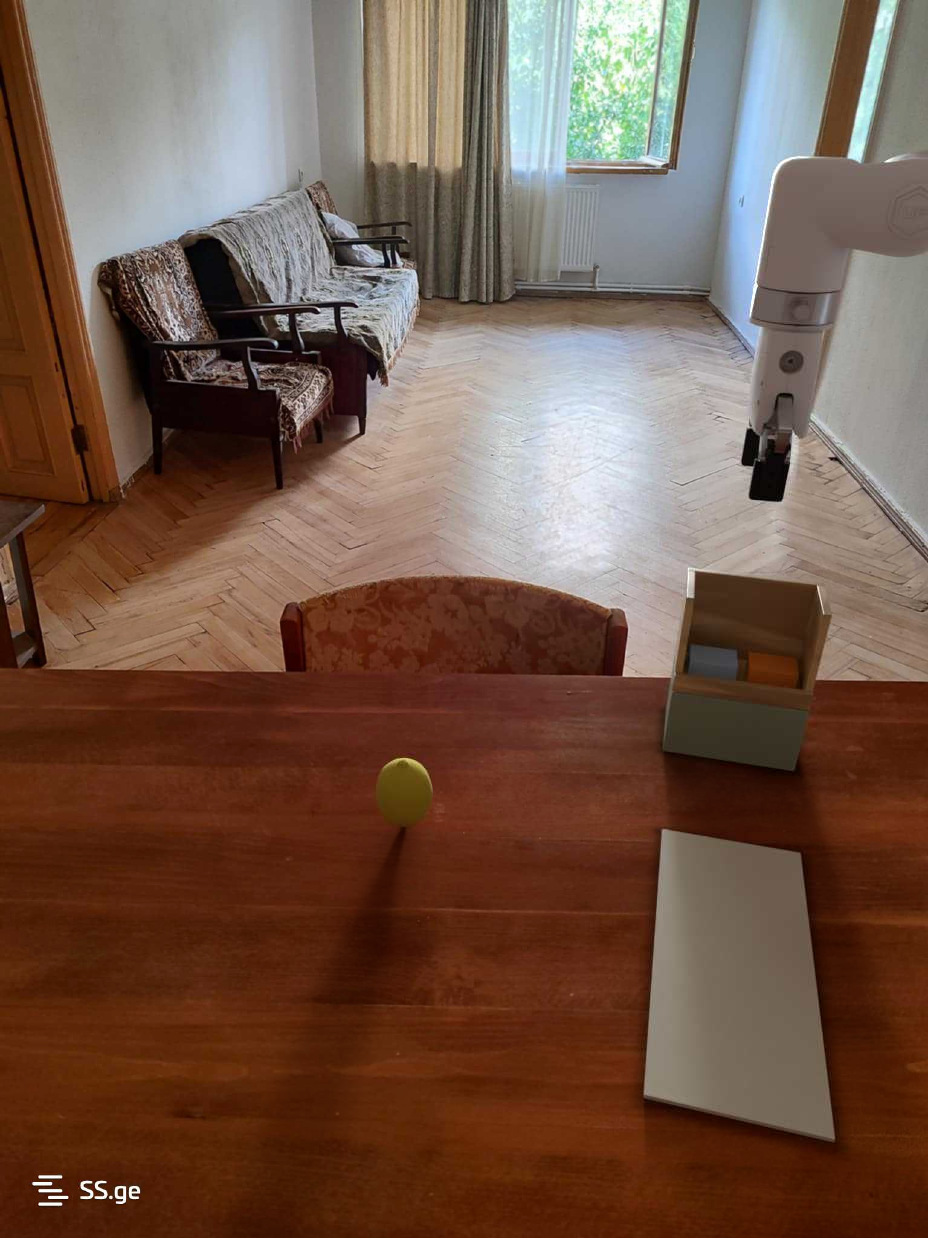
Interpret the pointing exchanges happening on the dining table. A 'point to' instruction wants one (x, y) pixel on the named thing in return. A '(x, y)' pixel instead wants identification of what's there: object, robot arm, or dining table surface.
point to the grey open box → (733, 730)
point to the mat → (736, 988)
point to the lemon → (403, 792)
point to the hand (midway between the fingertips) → (760, 482)
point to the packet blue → (712, 662)
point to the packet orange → (772, 670)
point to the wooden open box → (752, 632)
